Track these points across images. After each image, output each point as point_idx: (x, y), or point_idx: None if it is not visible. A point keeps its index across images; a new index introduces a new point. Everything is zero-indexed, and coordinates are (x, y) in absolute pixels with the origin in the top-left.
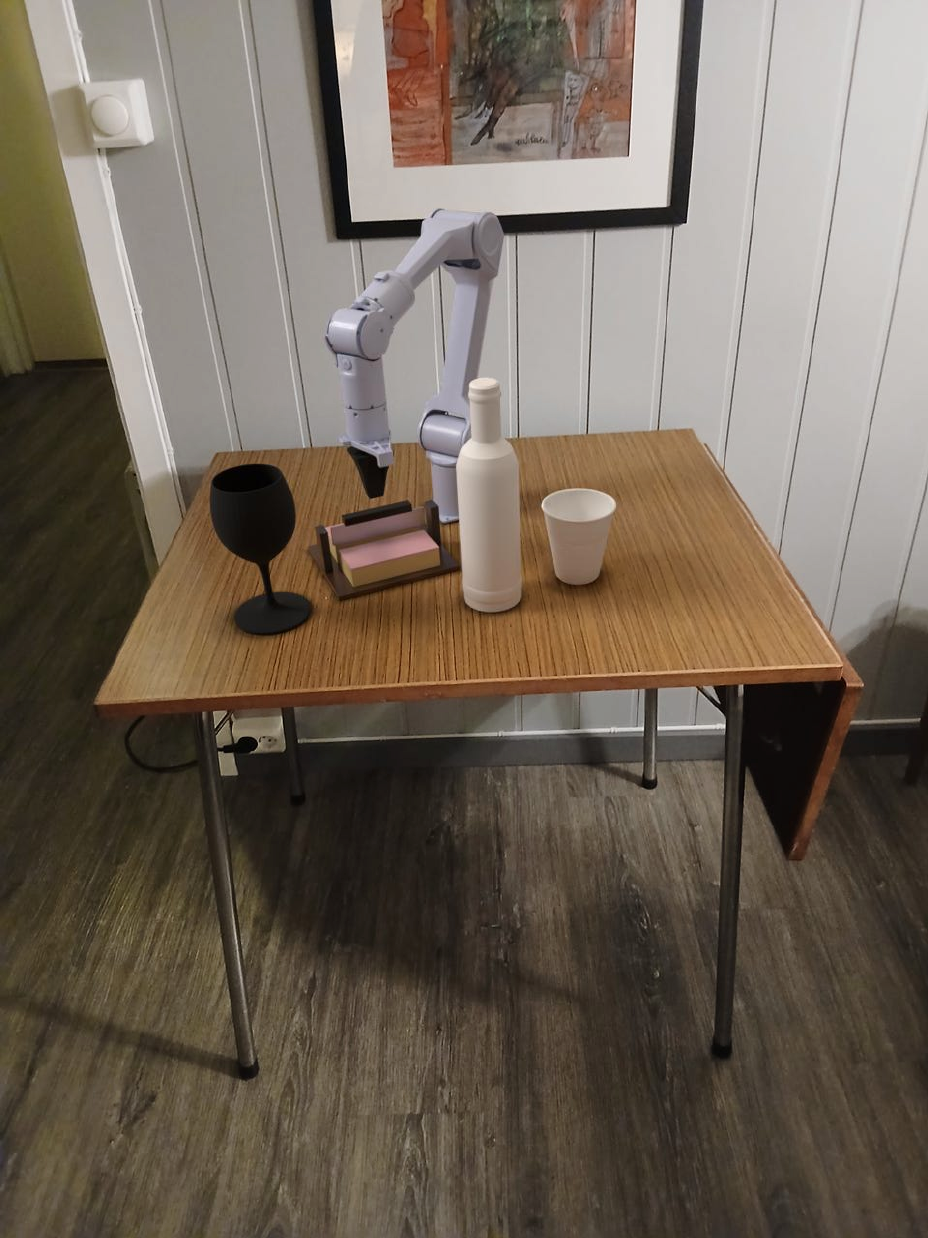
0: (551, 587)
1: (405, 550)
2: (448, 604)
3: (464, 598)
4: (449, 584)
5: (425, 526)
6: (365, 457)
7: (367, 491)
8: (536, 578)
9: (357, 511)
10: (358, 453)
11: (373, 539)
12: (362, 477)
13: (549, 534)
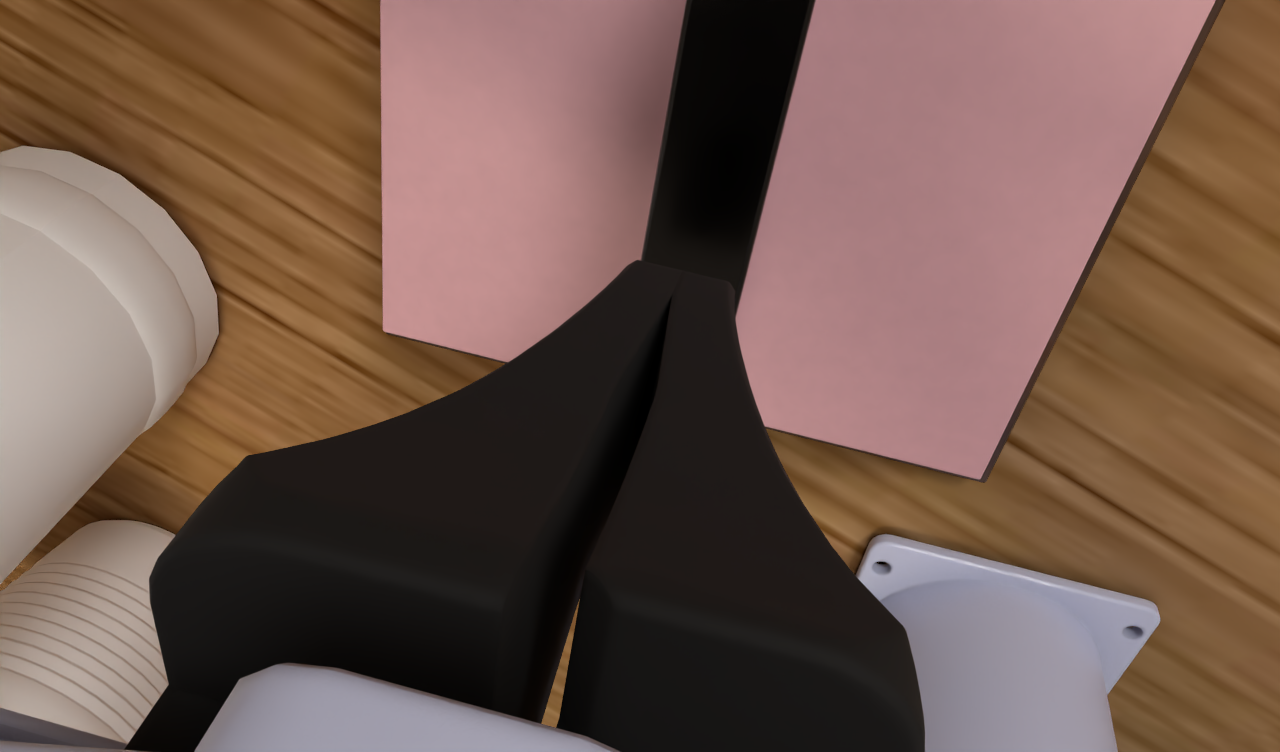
0: (105, 471)
1: (445, 162)
2: (100, 80)
3: (97, 168)
4: (288, 200)
5: (885, 457)
6: (164, 632)
7: (605, 290)
8: (189, 479)
9: (780, 93)
10: (382, 660)
11: None
12: (603, 378)
13: (2, 671)
